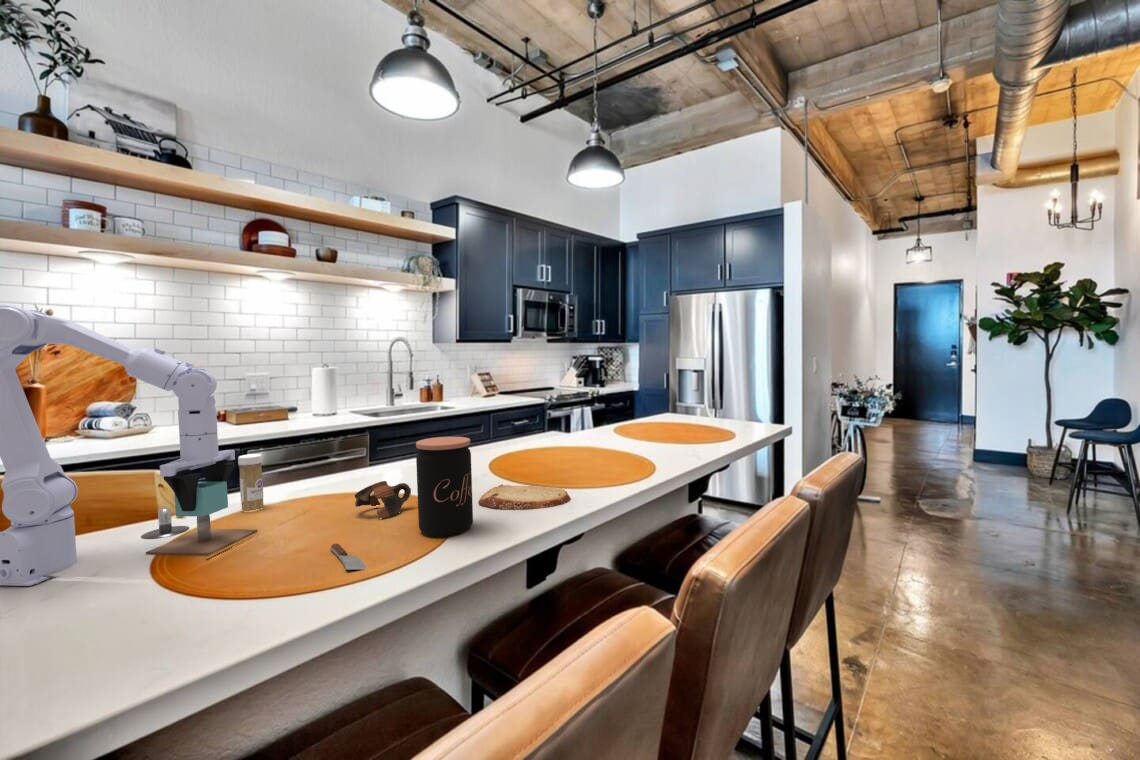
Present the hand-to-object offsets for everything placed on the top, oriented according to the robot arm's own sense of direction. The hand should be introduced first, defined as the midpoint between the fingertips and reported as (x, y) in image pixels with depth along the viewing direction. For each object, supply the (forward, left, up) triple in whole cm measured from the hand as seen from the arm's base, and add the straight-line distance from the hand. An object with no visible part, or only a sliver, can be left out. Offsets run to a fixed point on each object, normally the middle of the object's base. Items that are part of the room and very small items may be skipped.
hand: (202, 505), depth 94 cm
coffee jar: (+11, -43, -8) cm, 45 cm away
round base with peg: (+5, +13, -8) cm, 16 cm away
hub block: (0, 0, -8) cm, 8 cm away
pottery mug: (+21, -25, -8) cm, 34 cm away
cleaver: (-4, -31, -8) cm, 33 cm away
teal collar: (0, 0, -1) cm, 1 cm away
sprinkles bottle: (+20, +6, -8) cm, 22 cm away
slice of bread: (+31, -55, -8) cm, 64 cm away
